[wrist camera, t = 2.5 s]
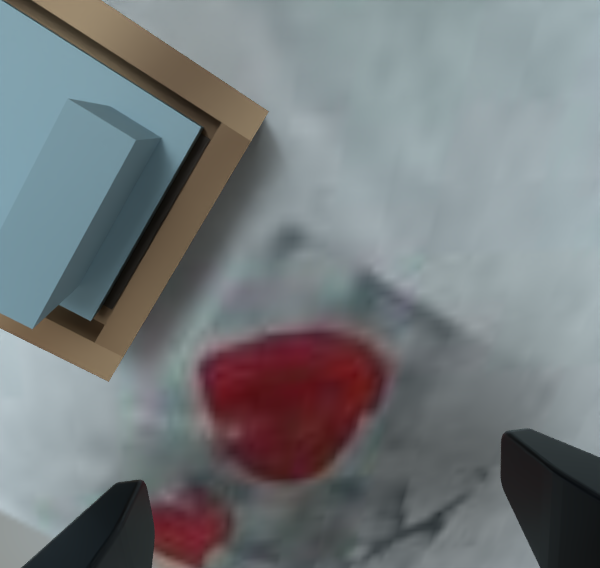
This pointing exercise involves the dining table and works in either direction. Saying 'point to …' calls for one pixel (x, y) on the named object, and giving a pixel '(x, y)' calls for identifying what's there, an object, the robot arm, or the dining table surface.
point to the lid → (74, 170)
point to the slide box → (181, 195)
